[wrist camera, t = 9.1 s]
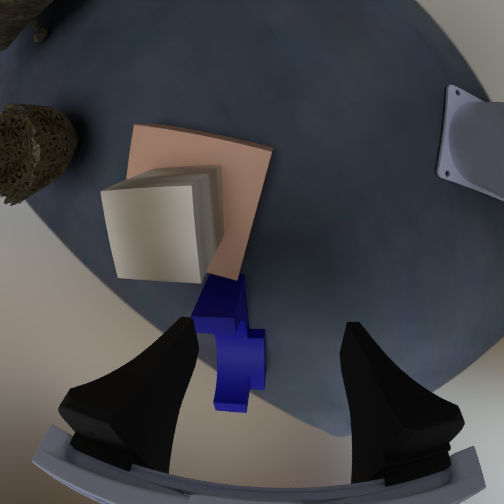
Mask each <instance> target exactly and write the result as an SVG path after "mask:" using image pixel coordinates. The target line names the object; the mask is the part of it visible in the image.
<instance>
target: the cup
mask: <svg viewBox="0 0 504 504" xmlns="http://www.w3.org/2000/svg"><path fill="white" fill-rule="evenodd" d="M3 108H4V109H5V110H6V111H4V112H1V113H0V197H3V196H6V199H5V201H4V204H8V203H11V205H10V206H12V205H15V204H17V203H21V202H22V201H23V200H25V199H26V198H28V197H29V196H31V195H33V194H34V193H36V192H37V191H39V190H41V189H42V188H44V187H46V186H47V185H49V184H50V183H52V182H53V181H54V180H56V179H57V178H58V177H59V176H60V175H61V174H62V173H63V172H64V171H65V170H66V168H67V167H68V165H69V163H70V161H71V159H72V158H73V157H74V156H75V155H76V154H77V152H78V151H79V148H80V145H81V133H80V130H79V128H78V127H77V126H76V125H75V124H74V123H72V122H70V120H69V119H68V118H67V116H66V115H65V114H63V113H62V112H61V111H59V110H57V109H54V108H51V107H46V106H38V105H26V104H14V103H11V104H10V105H8V106H4V107H3Z"/></svg>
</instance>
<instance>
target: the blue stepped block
mask: <svg viewBox="0 0 504 504" xmlns="http://www.w3.org/2000/svg"><path fill="white" fill-rule="evenodd" d="M191 318H193V319H194V325H195V330H196V333H210V334H215V337H216V344H217V383H216V391H215V396H214V401H213V403H214V406H215V410H219V411H229V412H244V413H247V405H248V398H249V391H250V389H255V390H265V379H266V349H265V329H249V324H248V312H247V300H246V287H245V275H244V274H239V276H238V280H233V279H229V278H226V277H222V276H218V275H215V274H210V275H209V277H208V279H207V281H206V283H205V286H204V288H203V290H202V292H201V294H200V297H199V299H198V301H197V303H196V306H195V308H194V310H193V312H192V315H191Z"/></svg>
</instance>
